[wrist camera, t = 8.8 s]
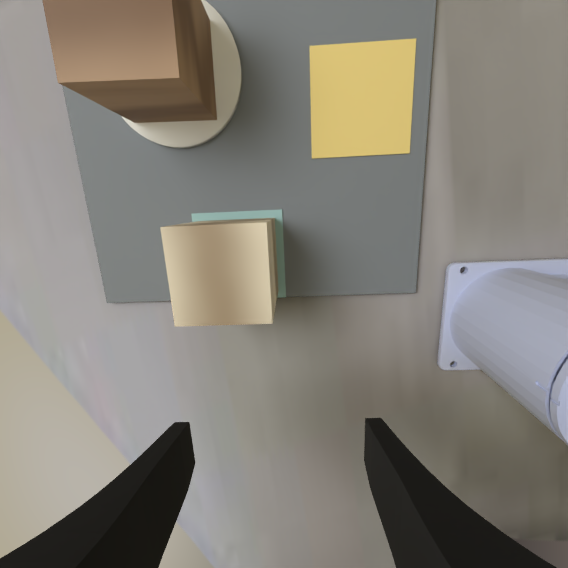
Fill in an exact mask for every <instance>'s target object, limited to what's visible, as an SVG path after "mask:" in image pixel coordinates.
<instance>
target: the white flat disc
mask: <svg viewBox="0 0 568 568" xmlns="http://www.w3.org/2000/svg"><path fill="white" fill-rule="evenodd" d="M201 1H202V4H203V6H204V8H205V10H206V12H207V15H208V17H209V19H210V28H211V42H212V55H213V69H214V83H215V97H216V111H217V120H205V121H177V122H148V123H134V122H132V121H130V120H128V119H126V118H124V117H123V116H122V118H123V119H124V120H125V122H126V123H127V124H128V125H129V126H130V127H131V128H132V129H134V130H135V131H136V132H137V133H139V134H140V135H142V136H143V137H145V138H147V139H149V140H151V141H153V142H155V143H157V144H160V145H163V146H166V147H171V148H191V147H195V146H199V145H201V144H204V143H206V142H208V141H209V140H211V139H213V138H214V137H215V136H217V135H218V134H219V133H220V132H221V131H222V130H223V129H224V128H225V127H226V126H227V124H228V123H229V121H230V120H231V118H232V116H233V114H234V112H235V110H236V108H237V105H238V102H239V98H240V94H241V87H242V68H241V60H240V56H239V52H238V49H237V46H236V44H235V41H234V38H233V35H232V33H231V31H230V30H229V28H228V26H227V24H226V23H225V21H224V20H223V18H222V17H221V15H220V14H219V13H218V12H217V11H216V10H215V8H213V7H212V6H211V5H210V4H209V3H208V2H207V1H205V0H201Z"/></svg>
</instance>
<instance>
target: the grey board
mask: <svg viewBox="0 0 568 568" xmlns="http://www.w3.org/2000/svg"><path fill="white" fill-rule="evenodd" d="M205 1H207V2H208V3H209V4H210V5H211V6H212V7H213V8H215V10H216V11H217V12H218V13H219V14H220V15H221V17H222V18H223V20H224V21H225V23H226V24H227V26H228V28H229V30H230V31H231V33H232V35H233V38H234V41H235V44H236V46H237V49H238V52H239V56H240V60H241V68H242V87H241V94H240V98H239V102H238V105H237V108H236V110H235V112H234V114H233V116H232V118H231V120H230V121H229V123H228V124H227V126H226V127H225V128H224V129H223V130H222V131H221V132H220V133H219V134H218V135H217V136H215V137H214V138H213V139H211V140H209V141H208V142H206V143H204V144H201V145H199V146H195V147H191V148H171V147H166V146H163V145H160V144H157V143H155V142H153V141H151V140H149V139H147V138H145V137H143V136H142V135H140V134H139V133H137V132H136V131H135V130H134V129H132V128H131V127H130V126H129V125H128V124H127V123H126V122H125V120H124V119H123V118H122V116H121V115H119V114H117V113H115V112H113V111H111V110H109V109H107V108H105V107H103V106H102V105H100V104H98V103H96V102H94V101H92V100H90V99H88V98H86V97H84V96H82V95H81V94H79V93H77V92H75V91H73V90H71V89H69V88H67V87H65V86H63V85H62V86H63V91H64V96H65V101H66V106H67V111H68V116H69V120H70V125H71V130H72V135H73V140H74V145H75V150H76V155H77V159H78V164H79V169H80V174H81V179H82V184H83V189H84V194H85V198H86V203H87V208H88V213H89V218H90V223H91V228H92V232H93V237H94V242H95V247H96V252H97V257H98V262H99V267H100V271H101V276H102V281H103V286H104V291H105V296H106V301H107V303H118V302H149V301H171V297H170V290H169V283H168V276H167V270H166V263H165V256H164V249H163V243H162V236H161V229H160V227H164V226H171V225H177V224H183V223H190V222H196V221H210V220H233V219H255V218H275V232H276V251H277V271H278V290H279V291H278V296H277V298H282V297H300V296H330V295H360V294H390V293H416V282H417V268H418V253H419V239H420V225H421V210H422V196H423V182H424V168H425V153H426V139H427V125H428V111H429V96H430V82H431V68H432V53H433V39H434V25H435V11H436V0H205Z"/></svg>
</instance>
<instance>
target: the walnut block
mask: <svg viewBox="0 0 568 568" xmlns="http://www.w3.org/2000/svg"><path fill="white" fill-rule="evenodd" d="M43 5H44V11H45V16H46V21H47V27H48V32H49V37H50V43H51V48H52V53H53V58H54V64H55V69H56V74H57V80H58V83H60V84H61V85H63V86H65V87H67V88H69V89H71V90H73V91H75V92H77V93H79V94H81V95H82V96H84V97H86V98H88V99H90V100H92V101H94V102H96V103H98V104H100V105H102V106H103V107H105V108H107V109H109V110H111V111H113V112H115V113H117V114H119V115H121V116H123V117H124V118H126V119H128V120H130V121H132V122H134V123H148V122H177V121H205V120H217V111H216V97H215V83H214V69H213V55H212V42H211V28H210V19H209V17H208V15H207V12H206V10H205V8H204V6H203V4H202V1H201V0H43Z"/></svg>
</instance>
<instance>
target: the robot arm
mask: <svg viewBox="0 0 568 568" xmlns="http://www.w3.org/2000/svg"><path fill="white" fill-rule="evenodd" d="M462 267H465V270H464V272H463V273H460V269H461V268H462ZM453 361H455V362H454V364H452V365H450V363H451V362H453ZM437 363H438V366H439V367H440V368H441V369H442V370H482V371H483V372H485V373H486V374H487V375H488V376H489V377H490V378H491V379H493V380H494V381H495V382H496V383H497V384H498V385H499V386H501V387H502V388H503V389H504V390H505V391H506V392H507V393H509V394H510V395H511V396H512V397H513V398H514V399H515V400H517V401H518V402H519V403H520V404H521V405H522V406H523V407H525V408H526V409H527V410H528V411H529V412H530V413H531V414H533V415H534V416H535V417H536V418H537V419H538V420H540V421H541V422H542V423H543V424H544V425H545V426H546V427H548V428H549V429H550V430H551V431H552V432H553V433H554V434H556V435H557V436H558V437H559V438H560V439H561V440H563V441H564V442H565V443H566V444H567V445H568V258H561V259H534V260H507V261H480V262H454V263H451V264H449V265H448V267H447V269H446V277H445V288H444V298H443V309H442V319H441V330H440V340H439V351H438V361H437ZM364 461H365V466H366V471H367V475H368V480H369V484H370V488H371V491H372V494H373V498H374V501H375V504H376V507H377V510H378V513H379V516H380V519H381V522H382V525H383V528H384V531H385V534H386V537H387V540H388V543H389V546H390V549H391V552H392V555H393V558H394V562H395V565H396V568H556V567H555V566H553V565H551V564H550V563H548V562H546V561H545V560H543V559H541V558H540V557H538V556H537V555H535V554H534V553H532V552H531V551H529V550H528V549H526V548H525V547H523V546H522V545H520V544H519V543H517V542H516V541H514V540H513V539H511V538H510V537H509V536H507V535H506V534H504V533H503V532H501V531H500V530H499V529H497V528H496V527H495V526H493V525H492V524H491V523H489V522H488V521H487V520H485V519H484V518H483V517H481V516H480V515H479V514H477V513H476V512H475V511H474V510H472V509H471V508H470V507H468V506H467V505H466V504H465V503H464V502H462V501H461V500H460V499H459V498H458V497H457V496H455V495H454V494H453V493H452V492H451V491H450V490H448V489H447V488H446V487H445V486H444V485H443V484H442V483H441V482H440V481H439V480H438V479H437V478H436V477H435V476H434V475H432V474H431V473H430V472H429V471H428V470H427V469H426V468H425V467H424V466H423V465H422V464H421V463H420V461H419V460H418V459H417V458H416V457H415V456H414V455H413V454H412V453H411V452H410V451H409V450H408V449H407V448H406V446H405V445H404V444H403V443H402V442H401V441H400V440H399V438H398V437H397V436H396V435H395V434H394V433H393V432H392V430H391V429H390V428H389V427H388V426H387V424H386V423H385V422H384V421H383V420H382V419H381V418H365V451H364ZM194 466H195V458H194V451H193V444H192V437H191V431H190V424H189V422H175V423H174V424H173V425H171V426H170V427H169V428H168V429H167V430H166V431H165V432H164V433H163V434H162V435H161V436H160V437H159V438H158V439H157V440H156V441H155V442H154V443H153V444H152V445H151V446H150V447H149V448H148V449H147V450H146V451H145V452H144V453H143V454H142V455H141V456H139V457H138V458H137V459H136V460H135V461H134V462H133V463H132V464H131V465H130V466H129V467H127V468H126V469H125V470H124V471H123V472H122V473H121V474H120V475H118V476H117V477H116V478H115V479H114V480H113V481H112V482H110V483H109V484H108V485H107V486H106V487H105V488H103V489H102V490H101V491H99V492H98V493H97V494H96V495H94V496H93V497H92V498H91V499H89V500H88V501H87V502H85V503H84V504H83V505H82V506H80V507H79V508H77V509H76V510H75V511H73V512H72V513H70V514H69V515H67V516H66V517H65V518H63V519H62V520H60V521H59V522H57V523H56V524H54V525H53V526H51V527H50V528H49V529H47V530H46V531H44V532H43V533H41V534H40V535H38V536H36V537H35V538H33V539H32V540H30V541H28V542H27V543H25V544H24V545H22V546H20V547H19V548H17V549H15V550H14V551H12V552H11V553H9V554H7V555H6V556H4V557H2V558H0V568H158V567H159V564H160V561H161V559H162V556H163V553H164V550H165V548H166V546H167V543H168V540H169V538H170V535H171V533H172V530H173V528H174V525H175V523H176V520H177V517H178V515H179V512H180V510H181V507H182V505H183V502H184V499H185V497H186V494H187V491H188V488H189V485H190V481H191V477H192V473H193V470H194Z"/></svg>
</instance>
